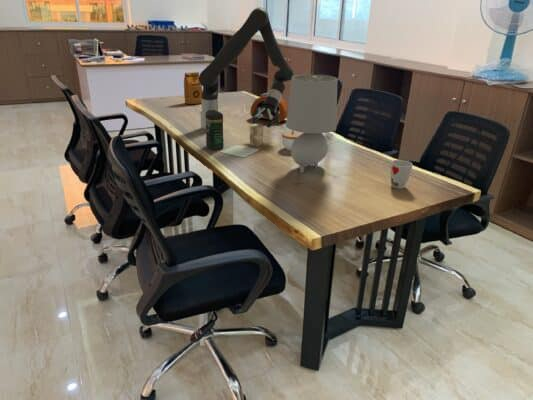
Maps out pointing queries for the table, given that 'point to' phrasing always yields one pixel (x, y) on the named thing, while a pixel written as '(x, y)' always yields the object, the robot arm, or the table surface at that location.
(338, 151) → the table surface
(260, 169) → the table surface
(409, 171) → the cup
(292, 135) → the lidded jar
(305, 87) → the table lamp
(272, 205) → the table surface
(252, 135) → the maple block
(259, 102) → the alarm clock
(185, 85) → the coffee package
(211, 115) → the coffee jar
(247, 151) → the green mat
